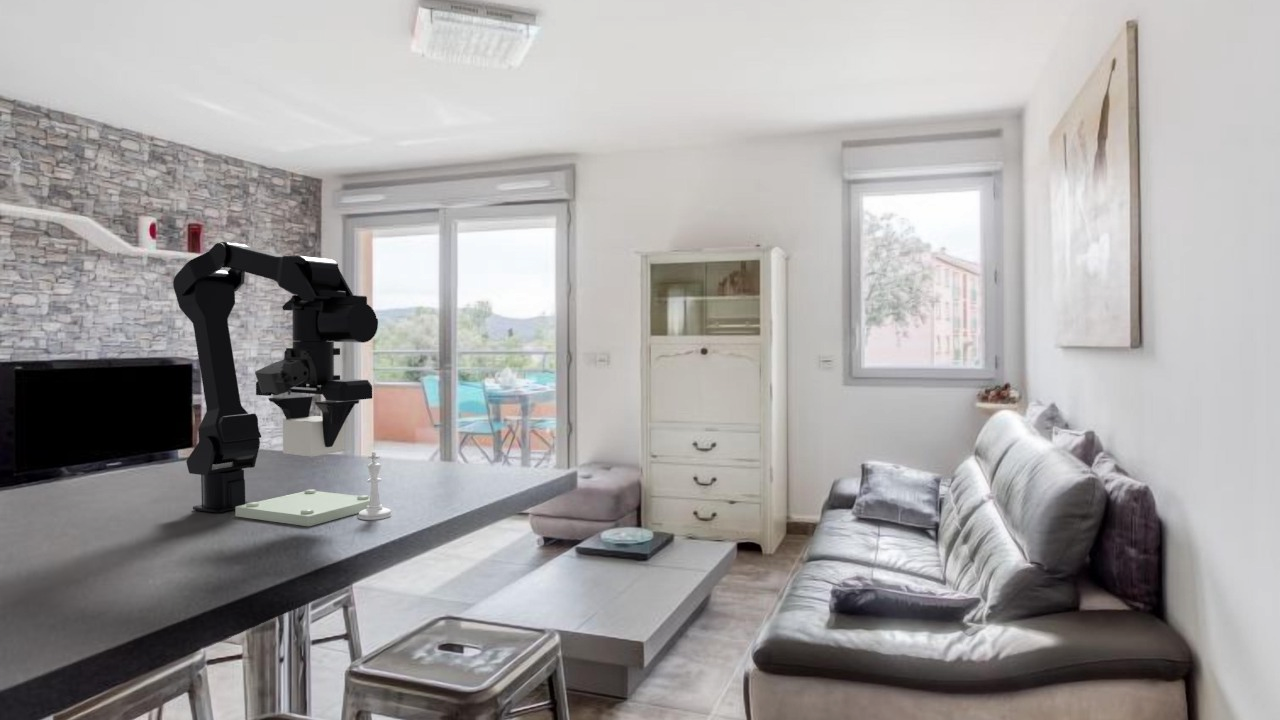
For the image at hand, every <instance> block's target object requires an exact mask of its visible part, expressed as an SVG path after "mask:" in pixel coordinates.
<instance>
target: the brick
mask: <svg viewBox="0 0 1280 720" xmlns="http://www.w3.org/2000/svg"><path fill="white" fill-rule="evenodd" d="M344 451H345V423H344V424H343V426H342V428H341V430H340V432H339V434H338V436H337V438H336V440H335V442H334V444H333V446H332V447H325V442H324V435H323V418H322V416H320V415H313V416H309V417H302V418H294V419H286V418H285V419H282V454H288V455H296V456H304V457H311V458H313V457H317V456H324V455H328V454H329V455H330V454H334V453H335V454H336V453H340V452H344Z"/></svg>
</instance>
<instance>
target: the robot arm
mask: <svg viewBox="0 0 1280 720" xmlns="http://www.w3.org/2000/svg"><path fill="white" fill-rule="evenodd" d="M223 268H227V269H228V268H229V269H228V270H225V269H223ZM245 273H247V274H251V275H254V276H258V277H261V278H266V279H269V280H273V281H275V282H276V283H277V285H278V287H280V288H281V289H283V290H285V291H286V292H288V293H291V294H292V296H291V298H290V299H289V300H287V301H286V302H285V303H284V304H283V305H282V308H281V309H282V310H283V311H290V312H291V311H292V347H286V348H285V350H284V358H283V359H281V360H279V361H276V362H273V363H271V364H269V365H266V366H263V367H262V368H260V369H257V370H255V372H254V374H255V377H256V380H257V381H256V382H255V395H256V396H265V397H268V401H269V402H270V403H271V402H272V403H274V404H275V405H276V406H277V407H278V408H280V409H281V411H282V413H283V415H284V416H285V419H294V418H302V417H310V412H311V408H312V402H313V396H310V395H303V394H312V395H323V398H324V399H325V400H324V401H323V400H322V401H321V400H320V401H315V402H314V404H315V405H316V407H317V408H318V409H319V411H320V412H321V415H322V418H323V435H324V442H325V447H332V446H333V444H334V442H335V440H336V438H337V436H338V434H339V432H340V430H341V428H342V426H343V424H344V425H345V422H346V420H347V418H348V416H349V415H350V413H351V411H352V410H353V408H354V406H355V405H356V404H359V403H360V401H361V400H368V399H369V400H370V399H373V385H372V384H371V382H370V381H369V380H368V379H356V378H348V379H341V375H338V374H335V356H339V355H341V348H340V347H339V348H338V347H335V343H364V344H365V343H368V342H370V341H371V340H372V339H373V338H374V337H375V335H376V334H377V332H378V327H379V320H378V318H377V315H376V313H375V310H374V309H373V308H372V307H371V305H370V304H368V297H367V295H358V294H357V295H354V294H353V292H352V291H351V290H352V289H350V287H349V285H348V283H347V282H346V280H345V278H344V276H343V274H342V272H341V271H340V268H339V263H338V262H336V261H335V260H333V259H331V258H321V257H312V256H304V255H303V256H302V255H283V254H278V253H273V252H270V251H267V250H262V249H258V248H256V247H250V246H249V245H246V244H245V243H235V242H228V241H221V242H217V243H215V244H214V245H213V246H212V247H211V248H210V249H209V250H208V251H206V252H204V253H203V254H200V255H198V256H196V257H194V258H193V259H190V260H188V261H187V262H186V263H185V265H183V267H181V269H180V270H179V271H178V272H177V273H176V274H175V276H174V277H173V281H172V286H173V290H174V294H175V296H176V297H175V298H176V301H177V304H178V306H179V307H178V308H179V309H180V310H181V311H182V312H183V314H185V316H186V318H187V319H188V320H189V321H190V322H191V323H192V325H193V331H194V338H195V343H196V349H197V350H196V351H197V356H198V363H199V369H200V377H201V381H202V382H201V383H202V389H203V393H204V401H205V408H206V412H205V414H204V416H203V418H202V420H201V422H200V425H199V427H198V443H197V444H196V446H195V447H194V449H193V450H192V452H191V453H190V455H189V456H188V457H187V460H186V461H185V463H186V466H187V470H188V473H189V474H192V475H200V482H201V483H200V484H201V486H200V488H201V491H200V492H201V504H199V505H194V506H192V510H193V511H200V512H208V513H215V514H220V513H223V512H228V511H232V510H233V511H235V507H236V506H241V505H245V504H247V503H250V502H251V501H247V500H246V479H245V469H248V468H250V469H251V468H253V469H254V468H255V466H256V461H257V458H258V454H259V450H260V445H261V438H262V435H261V433H260V429H259V418H258V416H257V414H256V413H255V412H252V413H249V412H248V411H247V410H246V409H245V407H244V406H242V403H241V396H240V391H239V383H238V377H237V371H236V363H235V358H234V352H233V345H232V339H231V335H230V333H231V332H230V328H229V320H228V319H229V317H230V315H231V313H232V311H233V308H234V306H235V304H236V292H237V291H238V290H239V289H240V288H241V287H242V286H243V285H244V283H245V275H246V274H245ZM270 396H272V397H270Z"/></svg>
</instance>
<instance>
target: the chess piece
mask: <svg viewBox="0 0 1280 720" xmlns="http://www.w3.org/2000/svg"><path fill="white" fill-rule="evenodd" d="M380 458H381V457H380V455H377V451H372V452H371V455H369V456H367V460H371V462H370V463H368V464H367V465H366V467H367V469H368V472H369V476H370V478H368V479H367V480H366V482H367V483H370V493H369V497H370V501H369V505H368V506H367V507H368V508H367V509H364V510H362V511H360V512H359V513H358V516H357V518H358V519H360V520H363V521H375V520H383V519H387V518H388V519H389V518H390V517H392V515H393V514H392V510H391V509H390V508H387V507H383V504H382V502H381V500H380V499H381V498H380V493H379V485H378V483H379V482H382V478H380V477H379V473H380V470H381V466H382V464H381V463H379V462H377V460H380Z"/></svg>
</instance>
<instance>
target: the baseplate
mask: <svg viewBox="0 0 1280 720" xmlns="http://www.w3.org/2000/svg"><path fill="white" fill-rule="evenodd" d="M369 501H370V495H366V494H365V495H355V494H345V493H336V492H327V491H317V490H316V489H313V488H312V489H305V490H304V491H301V492H295V493H292V494H287V495H282V496H277V497H272V498H269V499H263V500H259V501H249V502H250V503H247V504H245V505H241V506H236V507H235V509H234V512H235V517H238V518H239V517H240V518H245V519H252V520H253V519H254V520H261V521H267V522H274V523H276V522H277V523H282V524H289V525H297V526H303V527H311V526H315V525H319V524H324V523H326V522H330V521H333V520H337V519H342V518H346V517H348V516H353V515H356V514H359V512H360V511H362V510H364V509H367V508H368V507H367V506H368V505H369Z"/></svg>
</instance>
